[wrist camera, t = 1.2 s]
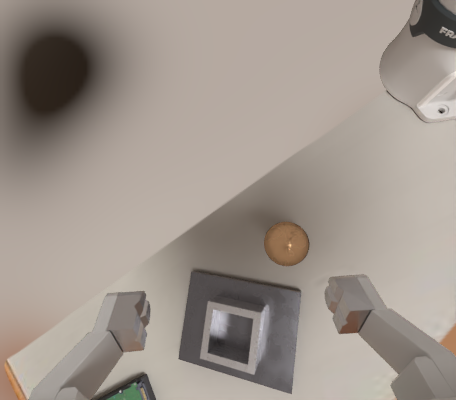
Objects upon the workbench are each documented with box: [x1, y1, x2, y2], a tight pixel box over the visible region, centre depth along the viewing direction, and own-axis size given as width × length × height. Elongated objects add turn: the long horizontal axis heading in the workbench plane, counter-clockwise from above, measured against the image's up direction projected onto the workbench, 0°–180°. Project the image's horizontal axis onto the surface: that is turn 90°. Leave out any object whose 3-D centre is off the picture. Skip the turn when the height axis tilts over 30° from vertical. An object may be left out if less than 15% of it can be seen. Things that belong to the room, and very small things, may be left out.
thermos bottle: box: [264, 222, 309, 266], centre depth 33 cm, size 5×5×16 cm
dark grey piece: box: [179, 271, 301, 394], centre depth 38 cm, size 18×14×6 cm
